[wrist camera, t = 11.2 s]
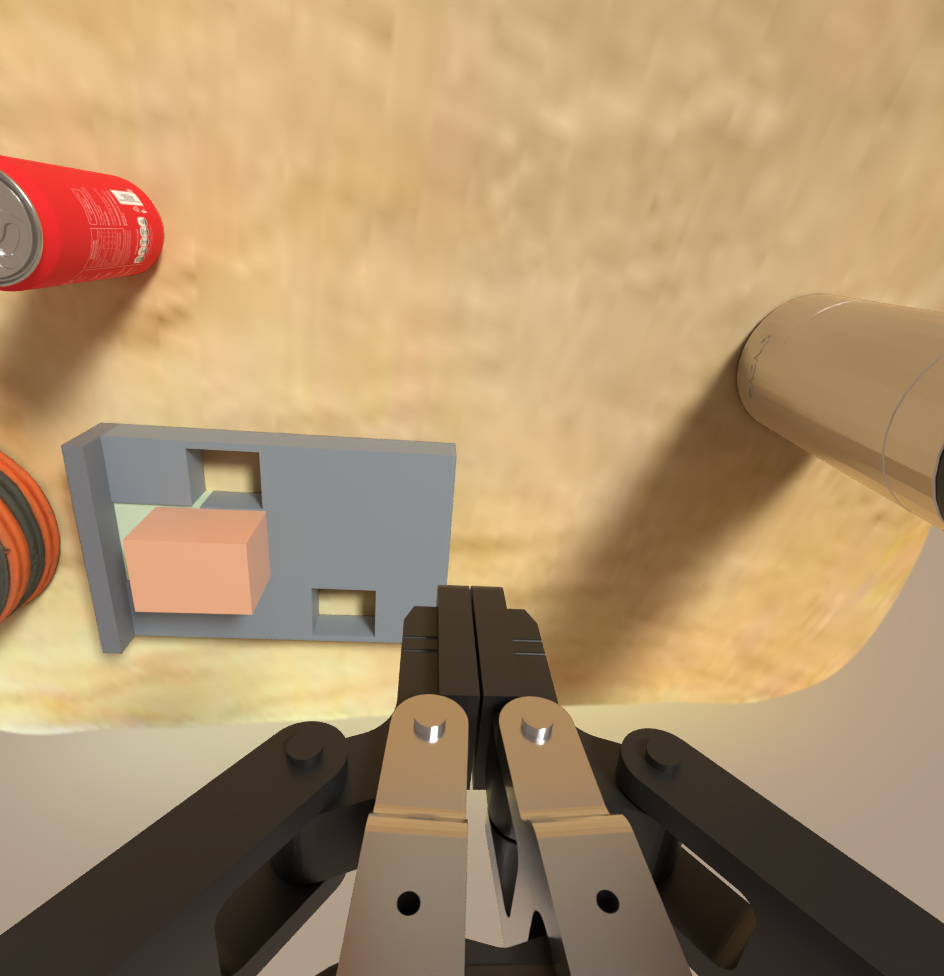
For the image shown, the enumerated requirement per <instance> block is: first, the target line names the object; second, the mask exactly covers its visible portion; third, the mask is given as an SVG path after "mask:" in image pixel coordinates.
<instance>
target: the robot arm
mask: <svg viewBox="0 0 944 976" xmlns="http://www.w3.org/2000/svg"><path fill="white" fill-rule="evenodd" d="M737 388H738V392H739V396H740V399H741V402H742V404H743V405H744V407H745V409H746V411H747V412H748V413H749V414H750V415H751V416H752V417H753V418H754V419H755V420H756V421H757V422H759V423H761V424H762V425H764V426H766V427H767V428H769V429H771V430H772V431H774V432H776V433H777V434H779V435H781V436H782V437H784V438H786V439H787V440H789V441H790V442H792V443H794V444H795V445H797V446H799V447H800V448H802V449H804V450H805V451H807V452H809V453H811V454H812V455H814V456H816V457H817V458H819V459H821V460H823V461H824V462H826V463H828V464H829V465H831V466H833V467H834V468H836V469H838V470H840V471H841V472H843V473H845V474H846V475H848V476H850V477H851V478H853V479H855V480H857V481H858V482H860V483H862V484H863V485H865V486H867V487H869V488H870V489H872V490H874V491H875V492H877V493H879V494H880V495H882V496H884V497H886V498H887V499H889V500H891V501H892V502H894V503H896V504H898V505H899V506H901V507H903V508H904V509H906V510H908V511H909V512H912V513H913V514H915V515H917V516H919V517H920V518H922V519H924V520H925V521H927V522H929V523H931V524H932V525H934V526H936V527H938V528H939V529H941V530H943V531H944V313H943V312H937V311H930V310H924V309H918V308H911V307H905V306H899V305H892V304H886V303H879V302H875V301H868V300H862V299H856V298H849V297H843V296H836V295H827V294H815V295H807V296H803V297H800V298H797V299H794V300H791V301H789V302H787V303H786V304H784V305H782V306H780V307H779V308H777V309H775V310H774V311H773V312H772V313H771V314H769V315H768V316H767V317H766V318H765V319H763V321H762V322H761V323H760V324H759V325H758V326H757V328H756V329H755V330H754V331H753V332H752V334H751V336H750V338H749V339H748V341H747V343H746V344H745V346H744V349H743V352H742V354H741V357H740V360H739V365H738V371H737ZM471 772H472V783H473V789H474V790H486V792H487V803H488V808H487V816H486V823H485V828H486V829H485V830H486V836H487V842H488V849H489V855H490V861H491V867H492V873H493V879H494V885H495V891H496V897H497V903H498V909H499V915H500V921H501V928H502V936H503V948H500V947H495V946H491V945H488V944H484V943H480V942H477V941H473V940H470V939H466V938H465V924H466V923H465V922H466V884H467V883H466V882H467V842H468V822H467V819H466V792H467V790H469V789H470V781H471ZM682 843H683V844H684V845H685V846H686V847H688V848H689V849H690V850H691V851H692V852H694V853H695V854H696V855H697V856H698V857H700V858H701V859H702V860H703V861H704V862H706V863H707V864H708V865H709V866H710V867H712V868H713V869H714V870H715V871H716V872H717V873H719V874H720V875H721V876H722V877H724V878H725V879H726V880H727V881H728V882H729V883H731V884H732V885H733V886H734V887H735V888H737V889H738V890H739V891H740V892H741V893H742V894H743V895H744V896H745V897H746V899H747V900H748V901H749V903H750V904H749V903H748V902H746V901H745V900H744V899H743V898H742V897H740V896H739V895H738V894H737V893H736V892H735V891H733V890H732V889H731V888H730V887H729V886H727V885H726V884H725V883H724V882H723V881H721V880H720V879H719V878H718V877H717V876H715V875H714V874H713V873H712V872H711V871H709V870H708V869H707V868H706V867H705V866H704V865H702V864H701V863H700V862H699V861H698V860H696V859H695V858H694V857H693V856H692V855H691V854H689V853H688V852H687V851H686V850H685V849H683V848H682V847H681V845H682ZM356 869H357V873H356V878H355V883H354V888H353V893H352V898H351V903H350V908H349V914H348V918H347V923H346V929H345V933H344V939H343V944H342V948H341V954H340V959H339V963H337V964H334V965H332V966H330V967H328V968H327V969H325V970H324V971H322V972H320V973H319V974H317V975H316V976H692V973H691V971H690V968H691V969H692V970H693V971H694V972H695V973H696V974H697V975H698V976H944V923H942V922H941V921H939V920H938V919H937V918H935V917H934V916H932V915H931V914H929V913H928V912H927V911H925V910H924V909H922V908H921V907H919V906H918V905H917V904H915V903H914V902H912V901H911V900H910V899H908V898H906V897H905V896H904V895H902V894H901V893H899V892H898V891H897V890H895V889H894V888H892V887H891V886H890V885H888V884H887V883H885V882H884V881H882V880H881V879H880V878H878V877H877V876H875V875H874V874H872V873H871V872H870V871H868V870H867V869H865V868H864V867H863V866H861V865H860V864H858V863H857V862H855V861H854V860H852V859H851V858H850V857H848V856H847V855H845V854H844V853H843V852H841V851H840V850H838V849H837V848H835V847H834V846H833V845H831V844H830V843H828V842H827V841H826V840H824V839H823V838H821V837H820V836H818V835H817V834H816V833H814V832H813V831H811V830H810V829H808V828H807V827H805V826H804V825H803V824H801V823H800V822H798V821H797V820H796V819H794V818H793V817H791V816H790V815H788V814H787V813H786V812H784V811H783V810H781V809H780V808H779V807H777V806H776V805H774V804H773V803H771V802H770V801H769V800H767V799H766V798H764V797H763V796H761V795H760V794H758V793H757V792H756V791H754V790H753V789H751V788H750V787H749V786H747V785H746V784H744V783H743V782H742V781H740V780H739V779H737V778H736V777H734V776H733V775H732V774H730V773H729V772H727V771H726V770H724V769H723V768H722V767H720V766H719V765H717V764H716V763H714V762H713V761H712V760H710V759H709V758H707V757H706V756H704V755H703V754H702V753H700V752H699V751H697V750H696V749H695V748H693V747H691V746H690V745H689V744H687V743H686V742H685V741H683V740H682V739H680V738H678V737H677V736H675V735H673V734H670V733H668V732H665V731H662V730H657V729H651V728H648V729H647V728H645V729H638V730H636V731H633V732H631V733H629V734H628V735H627V736H626V737H625V738H624V740H623V742H622V744H619V743H615V742H612V741H609V740H605V739H602V738H598V737H595V736H592V735H589V734H587V733H585V732H583V731H581V730H580V729H578V728H577V727H575V725H574V722H573V720H572V718H571V716H570V715H569V714H568V713H567V711H566V710H565V709H563V708H562V707H561V706H560V705H558V701H557V697H556V694H555V690H554V686H553V682H552V678H551V675H550V671H549V667H548V663H547V659H546V656H545V652H544V648H543V644H542V643H541V636H540V633H539V629H538V625H537V623H536V622H535V621H534V620H533V618H532V617H531V616H530V615H529V614H528V613H527V612H526V611H525V610H522V609H507V607H506V601H505V596H504V591H503V588H502V587H485V586H471V588H470V589H469V586H455V585H438V588H437V601H436V607H431V606H414V607H413V608H412V609H411V611H410V612H409V613H408V615H407V616H406V617H405V619H404V623H403V636H402V648H401V661H400V673H399V686H398V698H397V705H396V708H395V710H394V712H393V714H392V715H391V716H390V718H389V719H388V720H387V721H386V722H384V723H383V724H382V725H381V726H379V727H377V728H376V729H374V730H371V731H369V732H366V733H363V734H359V735H356V736H351V737H348V738H345V737H344V735H343V734H342V733H341V732H340V731H339V730H338V729H337V728H335V727H334V726H332V725H329V724H327V723H323V722H317V721H308V722H301V723H296V724H293V725H291V726H288V727H286V728H284V729H282V730H281V731H279V732H278V733H276V734H275V735H273V736H272V737H271V738H269V739H268V740H267V741H265V742H264V743H263V744H261V745H260V746H258V747H257V748H256V749H254V750H253V751H252V752H250V753H249V754H247V755H246V756H245V757H243V758H242V759H241V760H239V761H238V762H237V763H235V764H234V765H233V766H231V767H230V768H228V769H227V770H226V771H224V772H223V773H222V774H220V775H219V776H218V777H216V778H215V779H213V780H212V781H211V782H209V783H208V784H207V785H205V786H204V787H202V788H201V789H200V790H198V791H197V792H196V793H194V794H193V795H192V796H190V797H189V798H187V799H186V800H185V801H183V802H182V803H180V804H179V805H178V806H176V807H175V808H174V809H172V810H171V811H170V812H168V813H167V814H166V815H164V816H163V817H161V818H160V819H159V820H157V821H156V822H155V823H153V824H152V825H150V826H149V827H148V828H146V829H145V830H144V831H142V832H141V833H140V834H138V835H137V836H135V837H134V838H133V839H132V840H130V841H129V842H128V843H126V844H124V845H123V846H122V847H120V848H119V849H118V850H116V851H115V852H114V853H112V854H111V855H109V856H108V857H107V858H106V859H104V860H103V861H101V862H100V863H99V864H97V865H96V866H94V867H93V868H92V869H90V870H89V871H88V872H86V873H85V874H83V875H82V876H81V877H79V878H78V879H77V880H75V881H74V882H73V883H71V884H70V885H68V886H67V887H66V888H65V889H63V890H62V891H60V892H59V893H58V894H56V895H55V896H53V897H52V898H51V899H49V900H48V901H47V902H45V903H44V904H42V905H41V906H40V907H38V908H37V909H36V910H34V911H33V912H32V913H30V914H29V915H27V916H26V917H25V918H23V919H22V920H21V921H20V922H18V923H17V924H15V925H14V926H12V927H11V928H10V929H9V930H7V931H6V932H4V933H3V934H1V935H0V976H256V975H257V974H258V973H259V972H260V971H261V970H262V969H263V967H265V966H266V965H267V964H268V962H269V961H270V960H271V959H272V958H273V957H274V956H275V955H276V954H277V953H278V952H279V950H280V949H281V948H282V947H283V946H284V945H285V944H286V943H287V942H288V941H289V940H290V939H291V937H292V936H293V935H294V934H295V933H296V932H297V931H298V930H299V929H300V928H301V927H302V925H303V924H304V923H305V922H306V921H307V920H308V919H309V918H310V917H311V916H312V915H313V914H314V913H315V911H316V910H317V909H318V908H319V907H320V906H321V905H322V904H323V903H324V902H325V901H326V900H327V898H328V897H329V896H330V895H331V894H332V893H333V892H334V891H335V890H336V889H337V887H338V886H339V885H340V883H341V882H342V880H343V879H344V877H345V874H346V873H347V872H350V871H353V870H356ZM689 967H690V968H689Z"/></svg>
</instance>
